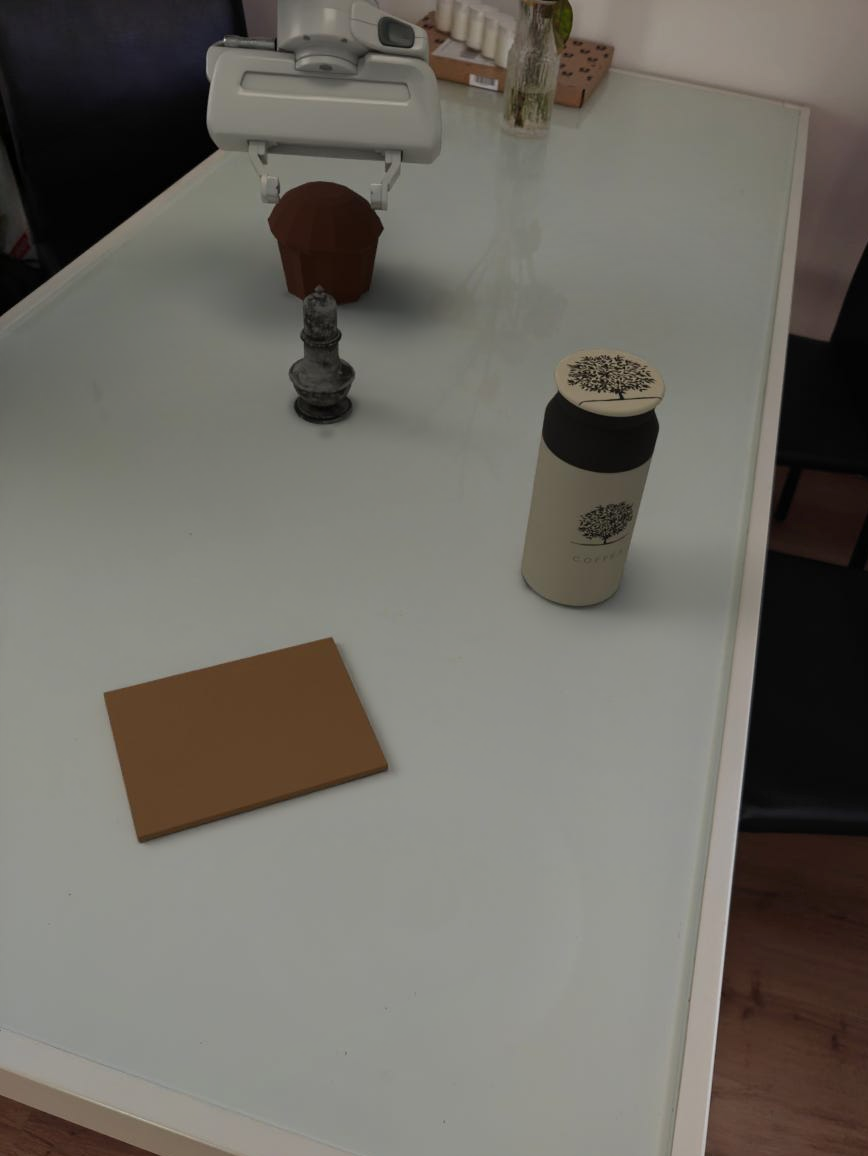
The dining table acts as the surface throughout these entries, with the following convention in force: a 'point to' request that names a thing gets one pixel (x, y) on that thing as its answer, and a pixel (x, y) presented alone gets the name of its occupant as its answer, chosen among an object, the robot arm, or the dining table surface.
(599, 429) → the travel mug
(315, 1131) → the dining table surface
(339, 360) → the salt shaker
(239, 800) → the cork mat
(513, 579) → the dining table surface
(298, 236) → the muffin
